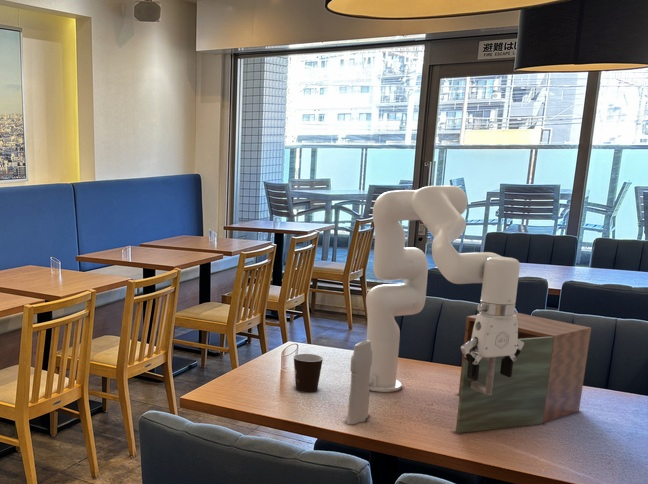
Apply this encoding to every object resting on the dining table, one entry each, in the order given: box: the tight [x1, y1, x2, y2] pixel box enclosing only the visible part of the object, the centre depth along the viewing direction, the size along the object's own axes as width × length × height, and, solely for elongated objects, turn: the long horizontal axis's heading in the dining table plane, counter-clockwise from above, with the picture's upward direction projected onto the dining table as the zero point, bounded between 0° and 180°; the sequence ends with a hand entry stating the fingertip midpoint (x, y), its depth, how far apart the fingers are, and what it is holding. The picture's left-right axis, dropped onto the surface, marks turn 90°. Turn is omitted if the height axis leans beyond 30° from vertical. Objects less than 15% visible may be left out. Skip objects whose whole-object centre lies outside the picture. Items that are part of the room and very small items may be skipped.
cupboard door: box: [455, 336, 554, 434], centre depth 182 cm, size 7×26×24 cm, turn 105°
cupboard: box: [458, 311, 592, 423], centre depth 204 cm, size 17×26×24 cm, turn 30°
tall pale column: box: [346, 339, 373, 425], centre depth 192 cm, size 11×4×22 cm, turn 136°
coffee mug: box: [293, 353, 324, 393], centre depth 220 cm, size 12×9×10 cm
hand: (489, 377), depth 176 cm, fingers open, 9 cm apart
